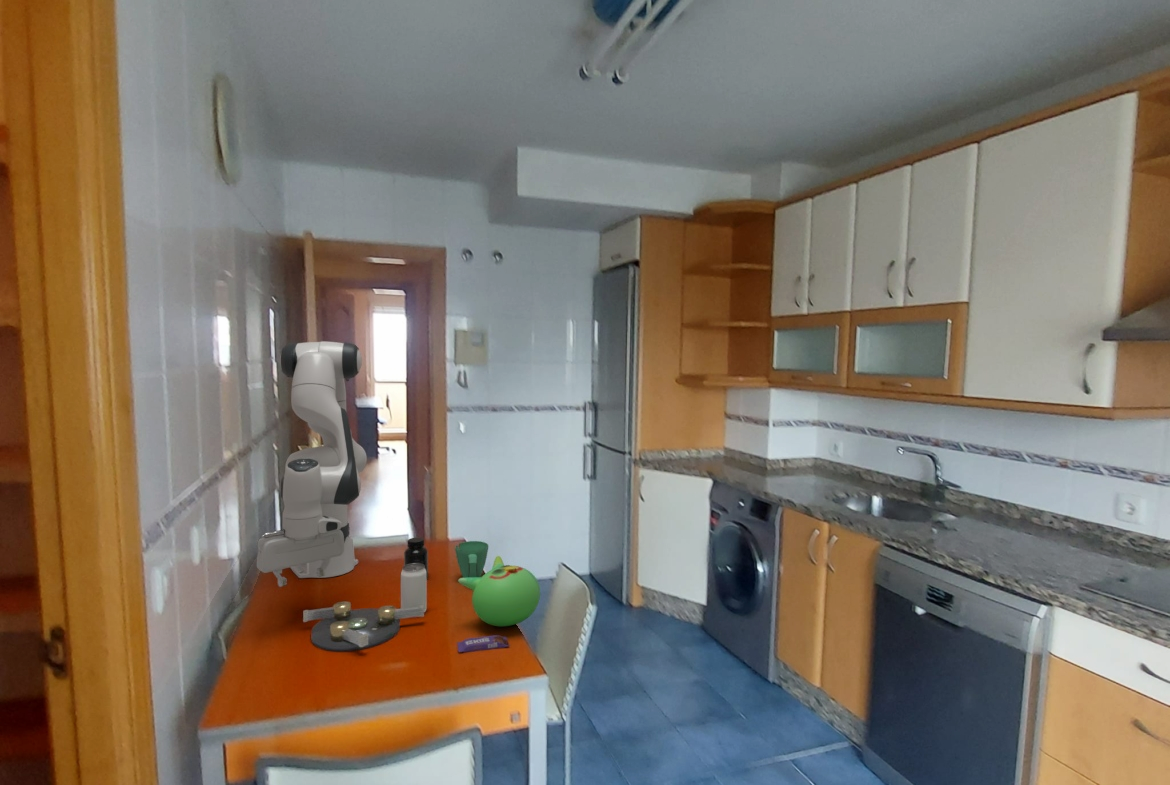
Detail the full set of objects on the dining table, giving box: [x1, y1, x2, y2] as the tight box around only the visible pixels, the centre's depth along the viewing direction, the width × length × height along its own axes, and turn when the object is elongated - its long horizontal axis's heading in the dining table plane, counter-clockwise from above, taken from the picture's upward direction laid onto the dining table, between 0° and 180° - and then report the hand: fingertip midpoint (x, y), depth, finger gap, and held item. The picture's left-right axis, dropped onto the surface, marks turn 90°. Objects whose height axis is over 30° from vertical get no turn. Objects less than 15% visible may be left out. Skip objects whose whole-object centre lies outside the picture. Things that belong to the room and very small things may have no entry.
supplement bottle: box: [403, 537, 429, 579], centre depth 184 cm, size 7×7×12 cm
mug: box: [454, 540, 489, 578], centre depth 183 cm, size 15×10×10 cm
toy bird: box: [457, 555, 541, 627], centre depth 155 cm, size 18×17×15 cm
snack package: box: [456, 634, 510, 653], centre depth 142 cm, size 12×2×5 cm
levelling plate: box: [310, 608, 401, 653], centre depth 149 cm, size 20×20×3 cm
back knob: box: [302, 600, 352, 623], centre depth 152 cm, size 11×4×3 cm, turn 112°
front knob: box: [330, 621, 368, 647], centre depth 140 cm, size 11×4×3 cm, turn 58°
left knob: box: [377, 605, 425, 624], centre depth 152 cm, size 11×4×3 cm, turn 109°
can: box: [400, 563, 428, 613], centre depth 161 cm, size 6×6×12 cm
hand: (301, 580), depth 152 cm, fingers open, 8 cm apart
